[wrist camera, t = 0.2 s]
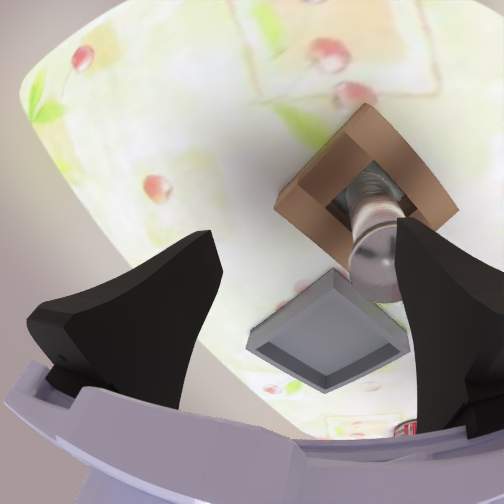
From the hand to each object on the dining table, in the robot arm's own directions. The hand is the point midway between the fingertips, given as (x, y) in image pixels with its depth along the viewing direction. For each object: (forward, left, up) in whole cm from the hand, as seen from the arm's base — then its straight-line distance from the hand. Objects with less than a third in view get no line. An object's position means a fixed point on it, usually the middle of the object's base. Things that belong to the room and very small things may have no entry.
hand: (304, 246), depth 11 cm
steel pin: (-4, -1, -10) cm, 11 cm away
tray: (-13, +11, -10) cm, 19 cm away
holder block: (-4, -1, -10) cm, 11 cm away
